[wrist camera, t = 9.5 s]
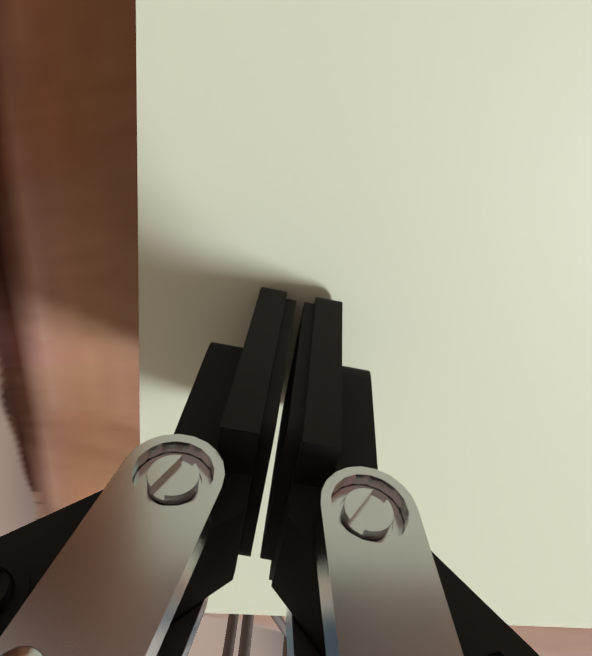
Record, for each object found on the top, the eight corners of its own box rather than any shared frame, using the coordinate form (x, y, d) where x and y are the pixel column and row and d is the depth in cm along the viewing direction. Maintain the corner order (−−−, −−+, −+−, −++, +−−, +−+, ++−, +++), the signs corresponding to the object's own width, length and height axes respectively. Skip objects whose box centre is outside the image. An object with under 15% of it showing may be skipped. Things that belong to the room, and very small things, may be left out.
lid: (152, -630, 5) (128, -754, 4) (1324, -221, 7) (1466, -249, 6) (148, 579, 17) (141, 610, 16) (577, 600, 19) (591, 628, 18)
